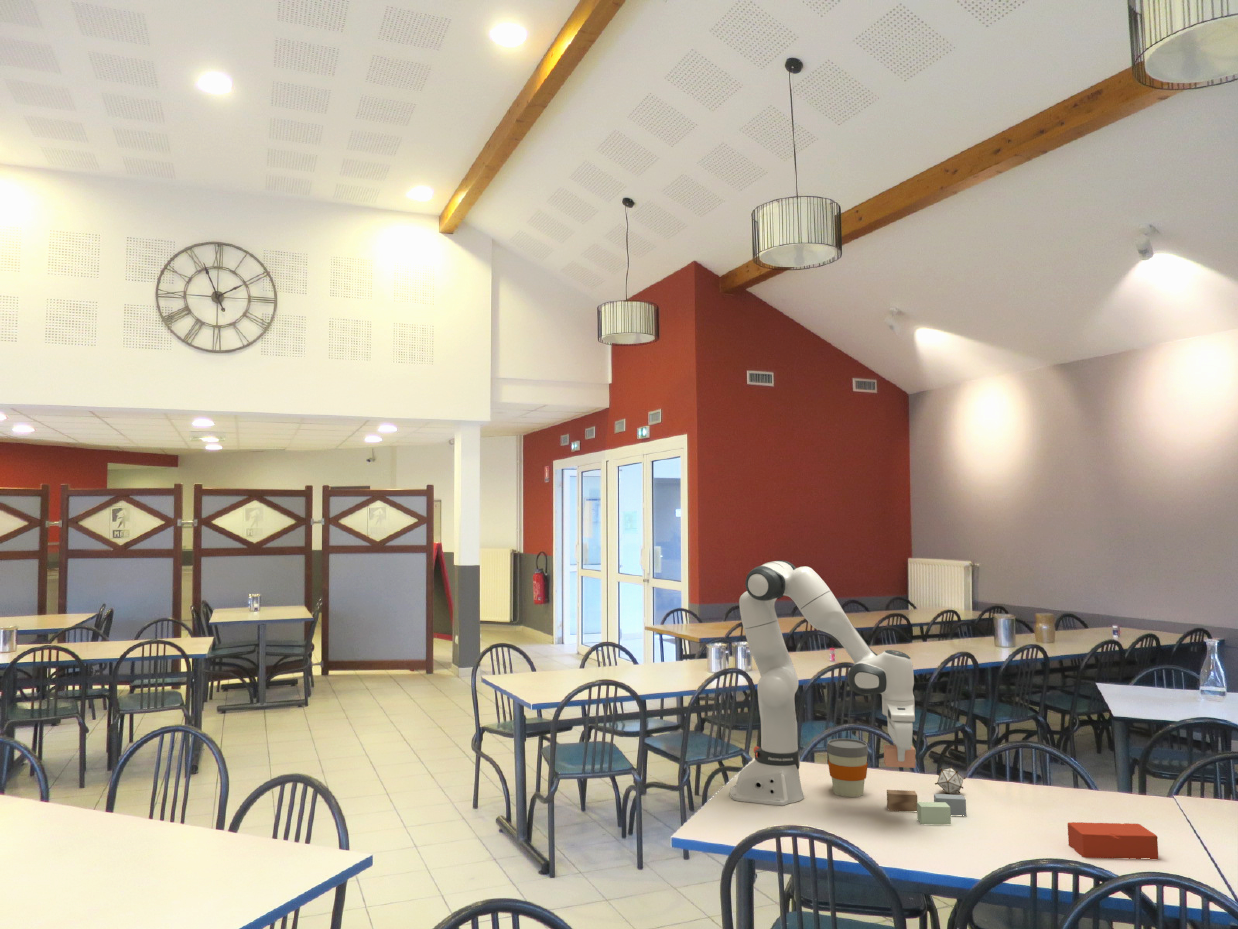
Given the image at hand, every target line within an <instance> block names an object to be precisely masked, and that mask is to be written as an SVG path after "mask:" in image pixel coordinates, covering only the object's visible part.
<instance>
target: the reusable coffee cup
mask: <svg viewBox="0 0 1238 929" xmlns="http://www.w3.org/2000/svg"><path fill="white" fill-rule="evenodd" d="M868 749H869V748H868V743H867V742H865V741H862V740H860V739H854V738H833V739H829V740H828V741H827V745H826V753H827V755H828V760H827V762H828V763H827V765H828V771H829V776H830V778H831V784H832V789H833V793H834V794H835V795H837V796H841V797H848V798H857V797H861V796H863V795H864V791H865V790H864V789H865V780H866V778H867V775H868V761H867V759H868V755H869V750H868Z"/></svg>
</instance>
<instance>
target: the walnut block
mask: <svg viewBox="0 0 1238 929" xmlns="http://www.w3.org/2000/svg"><path fill="white" fill-rule="evenodd" d="M917 802H918V794H917V792H916V791H915V790H904V789H903V790H902V789H901V790H900V789H886V807H887V810H888V809H889V810H888V811H889V812H899V811H917Z"/></svg>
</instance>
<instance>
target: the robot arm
mask: <svg viewBox="0 0 1238 929" xmlns="http://www.w3.org/2000/svg"><path fill="white" fill-rule="evenodd" d="M745 577H746V578H745V584H744V586H745V589H746V591H744V592H743V593H742V594H741V595H740V596H739V599H738V602H739V603H738V604H739V613H740V618H741V623H742V628H743V632H744V633H745V638H746V641H747V645H748V648H749V652H750V655H751V656H752V658H753V660H754V663H755V664H756V667H757V670H758V672H759V675H760V678H759V679H758V681H757V701H758V702H757V703H758V711H759V717H760V719H759V720H760V739H761V740H760V741H761V742H760V743H761V747H760V746H758V745H755V746H754V747H753V753H754V761H752V762H750V763H749V764H748V765H746V766H745V767H744V768H743V769H741V770H740V772H739V774H738V776H737V780H736V784H734V785H732V786H731V787H730V789H729V796H730V798H731V799H732V800H733V801H738V802H748V803H757V804H765V805H773V806H785V805H788V804H791V803H796V802H799V801H801V800H804V797H805V795H804V792H803V787H802V784H801V776H800V766H801V765H800V764H801V760H800V759H801V758H800V749H799V748H798V747H799V746H798V722H797V714H796V703H795V697H796V696H795V695H796V693H797V691H798V689H799V683H800V682H799V678H798V675H797V672H796V668H795V666H794V663H793V661H792V658H791V656H790V653H789V651H788V649H787V646H786V643H785V640H784V637H783V632H782V629H781V626H780V623H779V619H778V615H777V612H776V609H775V604H776V601H777V599H779V600H780V599H781V598H783V597H789V598H790V599H791V600H792V601H793V602H794V603H795V605H796V606H797V608H798V610H799V611H800V614H801V615H802V616H803V617H804V619H805V620H806V621H807V622H808V624H810V625H811V626H812V627H813V628H814V629H815V630H818V631H820V632H824V633H827V634H829V635H830V636H832V637H834V638H835V639H836V640H837V641H838V642H839V643H840V645H841V646H842V647H843V649H845V651H846V653H847V654H848V656H849V657H850V658H851V660H852V661H853V663H854V664H853V665H852V666H851V667H850V668H849V670H848V672H847V682H848V685H849V687H850V688H851V690H853V691H854V692H855V693H856V694H859V695H863V696H871V695H878V694H880V695H881V707H882V710H881V714H883V716H886V720H887V732H888V735H889V736H890V738H891V739H892V740H891V741H892V745H896V747H897V759H898V761H904V760H905V750H910V749H911V746H913V730H914V728H913V726H914V725H913V722H915V721H916V716H915V714H916V712H915V711H916V710H915V696H914V691H913V690H914V685H915V675H914V674H915V673H914V666H913V661H912V658H911V657H910V656H909V655H908V654H907V653H905V652H902V651H899V650H895V649H894V650H892V649H887V650H884V651H883V652H882V653H879V654H877V653H876V652H875V651H873V649H872V648H871V647H870V646H869V645H868V644H867V642H866V641H865V639H864V638H863V636H862V635H861V634H860V632H858V629H856V627H855V626H854V625H853V624H852V622H851V621H850V619H849V617H848V616H847V614H846V612H845V611H844V609H843V607H842V606H841V604H840V603H839V601H838V598H836V596H835V595H834V593H833V591H832V590H831V589H830V587H829V586H828V585H827V583H826V582H825V580H824V579H822V578H821V576H820V575H819V574H818V573H817V572H816V571H815V570H814V569H813V568H812V567H810V566H799V567H796V566H795V565H794V564H793V563H791V562H790V561H787V560H783V559H782V560H780V559H779V560H774V561H769V562H765V563H763V564H762V565H758V566H755V567H754V568H753V569H751V570H750V571H749V572H748V573H747V575H746V576H745Z"/></svg>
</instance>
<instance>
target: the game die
mask: <svg viewBox="0 0 1238 929" xmlns="http://www.w3.org/2000/svg"><path fill="white" fill-rule="evenodd" d="M939 770H940V773H937V776H938V778H937V782H934V785H938V786H939V787H940V788H941V789H942V791H943V790H944V792H945V793H947V794H949V795H953V794H955V793H958V794H959V793H961V789H964V786H963V783H964V780H966V779H967V777H966V776H964V777H963V776H962V775H961V774H960V773H959V770H955V769H954V768H953V765H951V766H950V767H949V768H946V769H945V768H944V769H943V768H942V767H940V768H939Z"/></svg>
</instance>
